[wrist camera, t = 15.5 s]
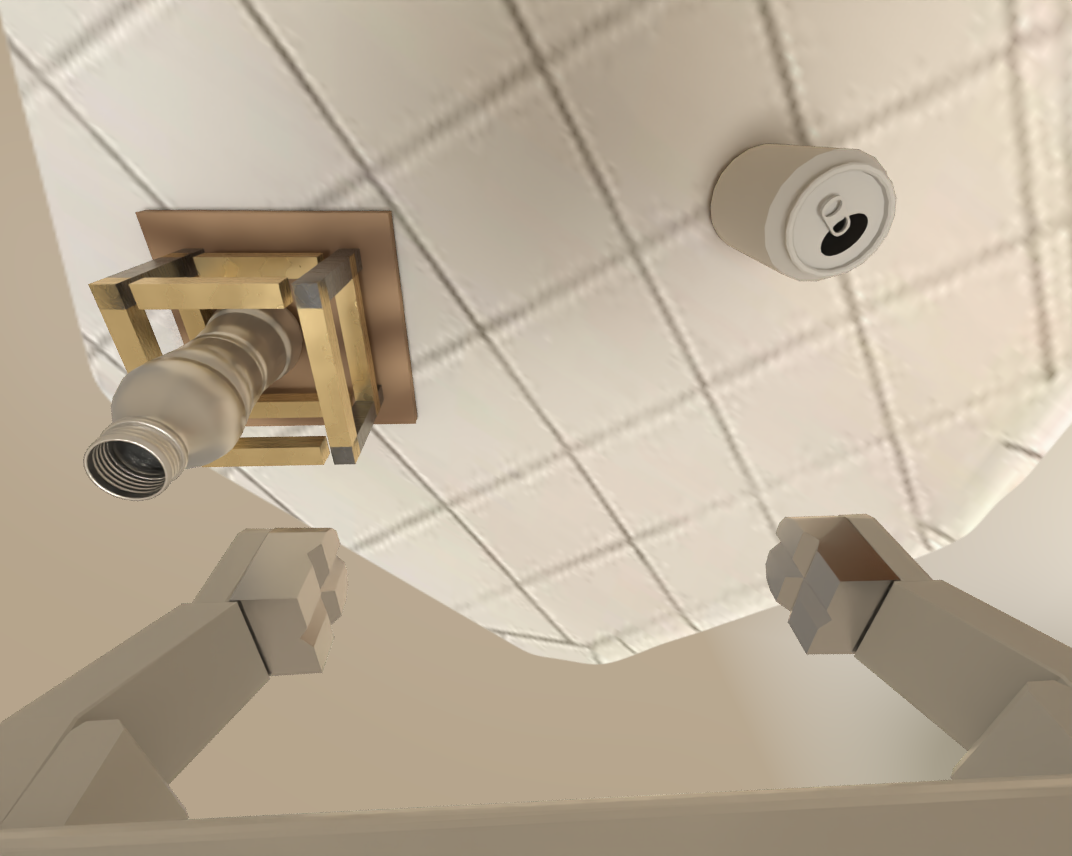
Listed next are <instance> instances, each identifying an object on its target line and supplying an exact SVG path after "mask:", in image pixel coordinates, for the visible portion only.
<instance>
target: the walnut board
mask: <svg viewBox="0 0 1072 856" xmlns="http://www.w3.org/2000/svg"><path fill="white" fill-rule="evenodd" d="M135 213H136V215H137V218H138V221H139V223H140V226H141V229H142V232H143V234H144V237H145V240H146V242H147V245H148V248H149V250H150V253H151V256H152V259H153V260H154V259H157V258H160V257H162V256H165V255H168V254H170V253H173V252H176V251H178V250H181V249H204V250H205V253H323V254H324V259H326V258H327V257H329V256H330V255H331V254H333V253H334V252H335V251H337V250H338V249H360V255H361V261H362V267H363V269H362V270H361V271H360V272H359V273H358V277H359V283H360V289H361V295H362V301H363V307H364V313H365V319H366V325H367V331H368V337H369V343H370V348H371V354H372V360H373V366H374V372H375V378H376V384H377V385H382V390H383V396H384V401H383V404H382V406H381V408H380V410H379V412H378V415H377V417H376V419H375V421H374V424H416V420H417V409H416V401H415V394H414V386H413V378H412V370H411V362H410V354H409V347H408V339H407V331H406V323H405V315H404V307H403V299H402V292H401V284H400V276H399V268H398V260H397V252H396V244H395V237H394V229H393V221H392V213H391V211H250V210H144V211H140V212H135ZM296 280H297V279H288V281H289V285H290V289H291V293H292V297H293V302H292V303H291V304H290V305H288V306H287V307H286V308H287V309H288V310H289V311H290V312H291V313H292V314H293V315H294V317H295V318H296V319H297V321H298V323H299V325H300V328H301V331H302V327H301V323H300V318H299V314H298V310H297V306H296V302H295V297H294V293H293V289H292V285H291V283H293V282H294V281H296ZM330 304H331V309H332V314H333V319H334V324H335V329H336V334H337V339H338V344H339V349H340V354H341V359H342V364H343V369H344V374H345V378H346V383H347V388H348V393H351V395H352V400H353V405H354V403H355V395H354V390H353V385H352V380H351V375H350V370H349V365H348V360H347V355H346V350H345V345H344V339H343V334H342V329H341V324H340V319H339V314H338V309H337V304H336V299H335V296H334V297H333V298H332V299H331V300H330ZM171 310H172V313H173V315H174V318H175V321H176V324H177V326H178V329H179V332H180V334H181V337H182V340H183V343H184V345H185V344H186V343H188V342H189V341H190V340H189V337H188V334H187V332H186V329H185V326H184V323H183V320H182V318H181V315H180V312H179V309H171ZM216 310H217V309H212V312H213V314H214V313H215V311H216ZM302 338H303V342H302V349H301V353H300V356H299V359H298V361H297V363H296V364H295V366H294V367H293V368H292V369H291V370H290V371H289V372H288V373H287V374H285V375H284V376H283V377H282V378H280V379H278V380H276V381H275V382H273V383H272V384H271V385H270V386H269V387H268V388H267V389H266V390H265V391H264V392H263V393H262V394H300V393H317V390H316V386H315V381H314V377H313V373H312V369H311V365H310V360H309V356H308V352H307V348H306V344H305V339H304V335H303V331H302ZM295 425H325V423H324V419H323V417H307V418H248V421H247V423H246V426H295Z"/></svg>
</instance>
